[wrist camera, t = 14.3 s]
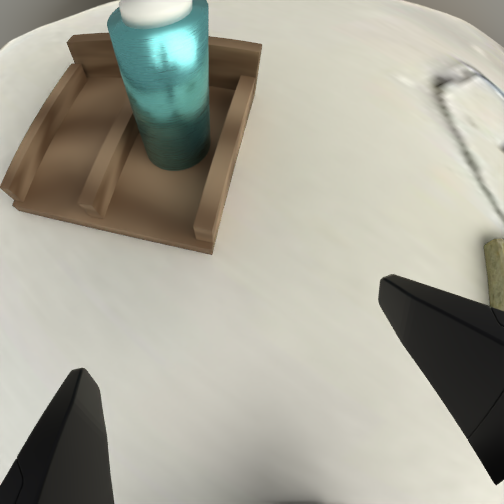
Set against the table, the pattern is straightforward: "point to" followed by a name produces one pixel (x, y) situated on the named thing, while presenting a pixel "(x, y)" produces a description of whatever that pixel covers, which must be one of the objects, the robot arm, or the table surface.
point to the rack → (130, 151)
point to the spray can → (166, 76)
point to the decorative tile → (495, 272)
